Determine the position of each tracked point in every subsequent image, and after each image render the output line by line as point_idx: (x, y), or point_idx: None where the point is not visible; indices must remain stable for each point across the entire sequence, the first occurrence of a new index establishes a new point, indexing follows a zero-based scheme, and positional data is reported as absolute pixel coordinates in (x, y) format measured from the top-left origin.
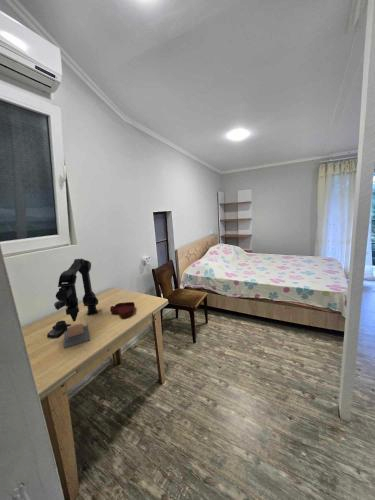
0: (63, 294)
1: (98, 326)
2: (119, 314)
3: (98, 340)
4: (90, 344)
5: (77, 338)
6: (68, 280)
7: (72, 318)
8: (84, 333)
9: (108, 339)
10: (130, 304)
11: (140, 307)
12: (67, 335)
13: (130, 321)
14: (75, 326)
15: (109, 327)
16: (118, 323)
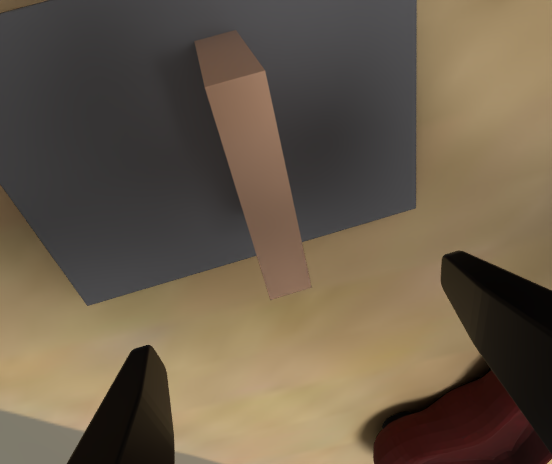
0: None
1: (343, 298)
2: (407, 437)
3: (79, 357)
4: (10, 317)
5: (134, 174)
6: None
7: (77, 461)
8: (234, 222)
9: (84, 412)
10: (522, 453)
11: None
12: (258, 2)
13: (309, 459)
14: (243, 211)
15: (282, 376)
16: (317, 411)
